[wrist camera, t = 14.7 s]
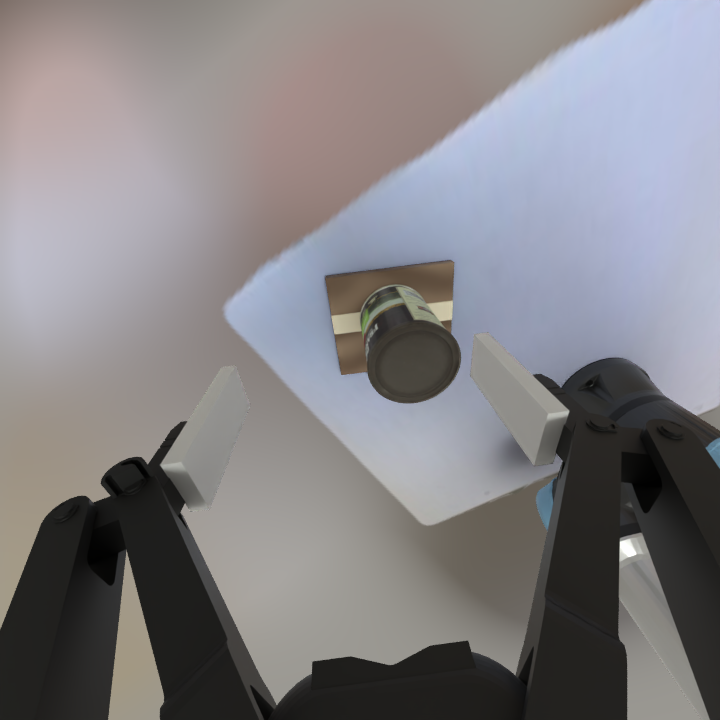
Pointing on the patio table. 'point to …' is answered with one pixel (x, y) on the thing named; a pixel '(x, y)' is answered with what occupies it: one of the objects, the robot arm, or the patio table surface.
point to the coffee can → (406, 346)
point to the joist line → (352, 320)
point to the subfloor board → (358, 286)
